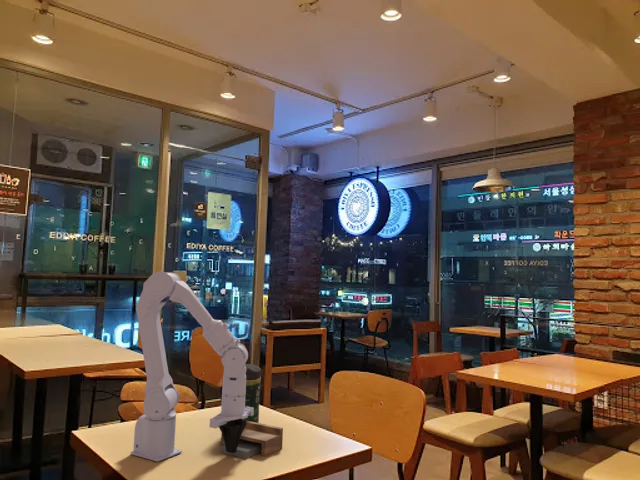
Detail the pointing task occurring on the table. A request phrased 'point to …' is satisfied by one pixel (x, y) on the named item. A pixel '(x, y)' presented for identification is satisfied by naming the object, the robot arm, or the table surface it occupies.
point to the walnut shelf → (262, 436)
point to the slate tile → (244, 448)
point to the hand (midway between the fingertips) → (231, 451)
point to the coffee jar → (252, 390)
